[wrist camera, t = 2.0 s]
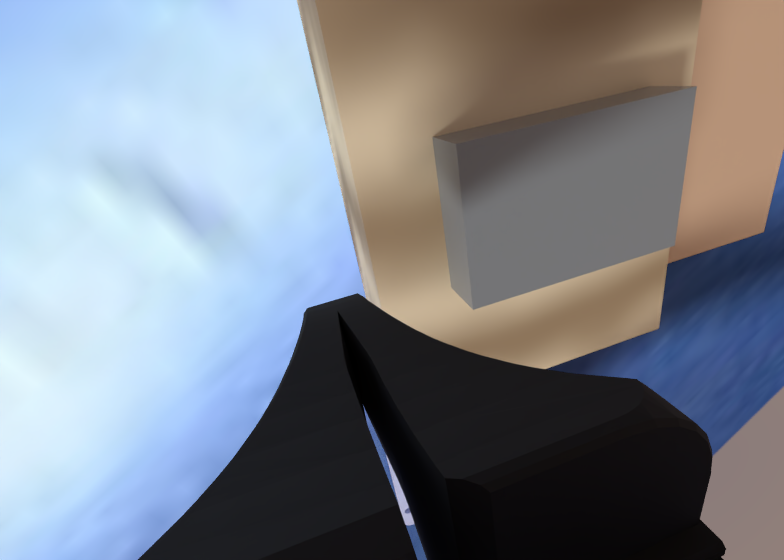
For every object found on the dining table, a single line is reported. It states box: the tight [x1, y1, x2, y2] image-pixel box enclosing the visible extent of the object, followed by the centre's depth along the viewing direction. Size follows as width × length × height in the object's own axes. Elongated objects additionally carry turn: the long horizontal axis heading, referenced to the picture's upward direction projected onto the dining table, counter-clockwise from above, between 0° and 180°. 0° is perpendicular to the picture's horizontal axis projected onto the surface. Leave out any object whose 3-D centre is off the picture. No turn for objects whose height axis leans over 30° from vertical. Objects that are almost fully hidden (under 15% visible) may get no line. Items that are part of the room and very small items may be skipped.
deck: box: [297, 0, 702, 369], centre depth 19 cm, size 18×14×4 cm
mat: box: [667, 0, 784, 264], centre depth 23 cm, size 16×11×1 cm
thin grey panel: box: [432, 86, 697, 310], centre depth 16 cm, size 6×9×2 cm, turn 100°
